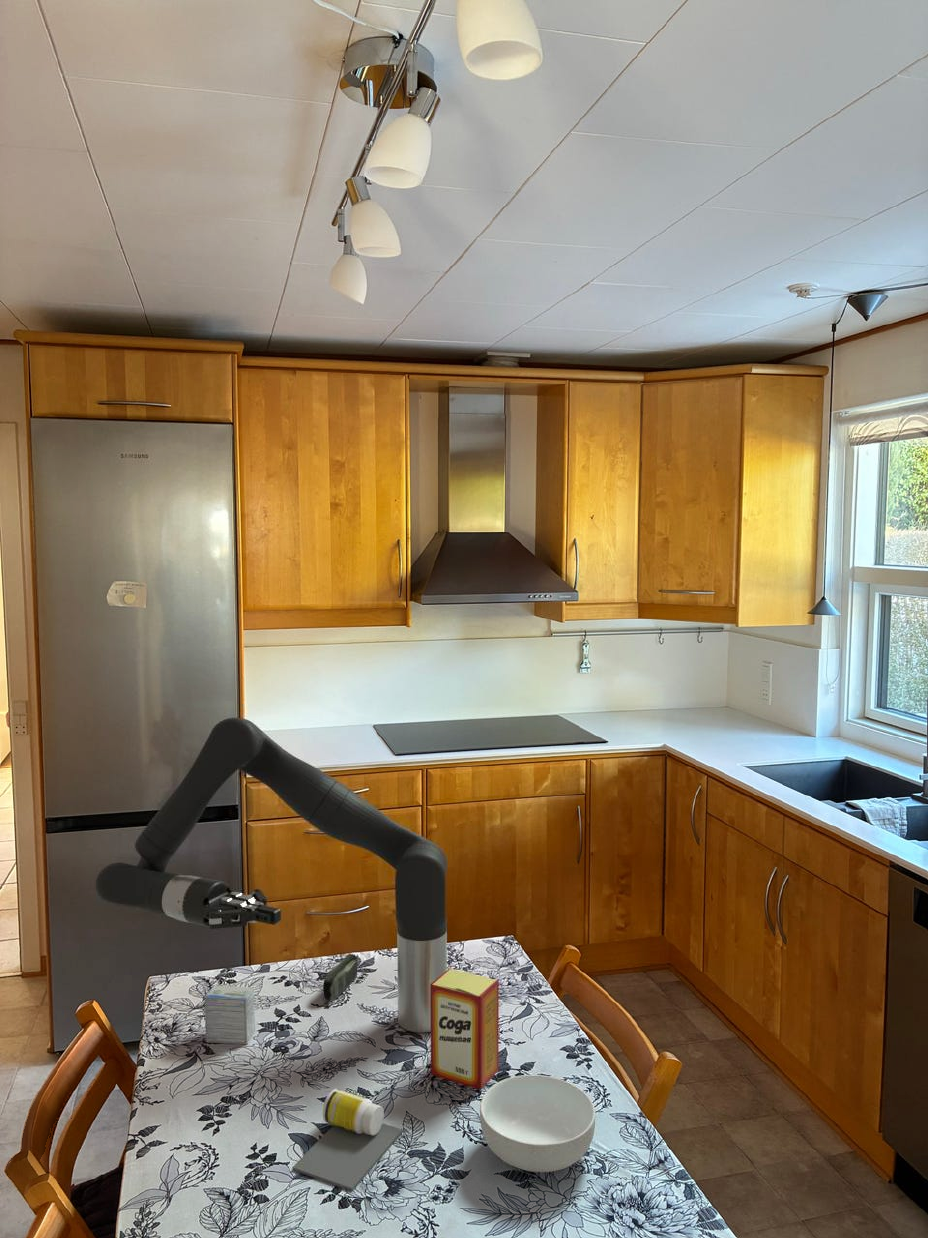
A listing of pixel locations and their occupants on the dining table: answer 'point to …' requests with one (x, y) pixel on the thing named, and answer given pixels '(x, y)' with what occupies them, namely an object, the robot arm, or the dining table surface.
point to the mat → (346, 1155)
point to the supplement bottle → (352, 1112)
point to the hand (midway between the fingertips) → (278, 917)
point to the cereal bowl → (537, 1122)
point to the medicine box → (229, 1014)
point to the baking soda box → (464, 1028)
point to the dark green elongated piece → (339, 978)
